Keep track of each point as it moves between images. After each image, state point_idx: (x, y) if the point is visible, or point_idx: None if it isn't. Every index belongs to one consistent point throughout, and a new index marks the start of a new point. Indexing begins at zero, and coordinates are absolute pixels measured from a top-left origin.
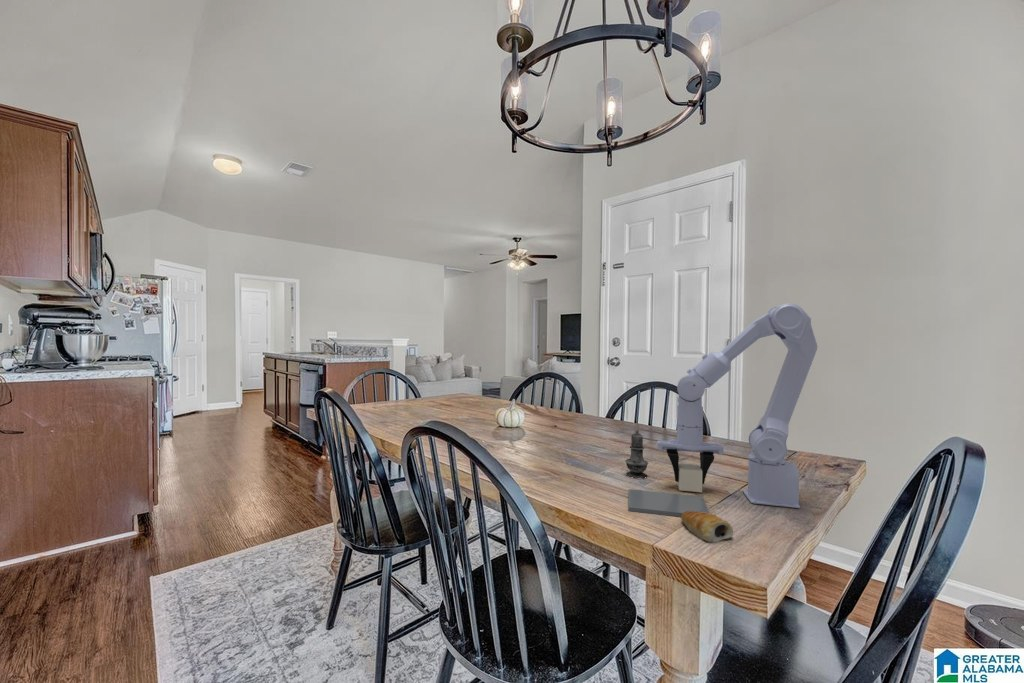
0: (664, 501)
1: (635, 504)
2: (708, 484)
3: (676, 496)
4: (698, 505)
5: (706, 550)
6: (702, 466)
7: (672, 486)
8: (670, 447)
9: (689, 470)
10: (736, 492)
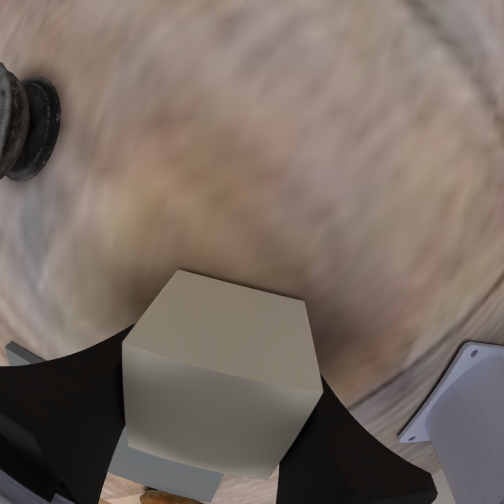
0: None
1: None
2: (382, 253)
3: None
4: (197, 475)
5: None
6: (280, 486)
7: (149, 292)
8: (5, 488)
9: (188, 462)
10: (436, 351)
